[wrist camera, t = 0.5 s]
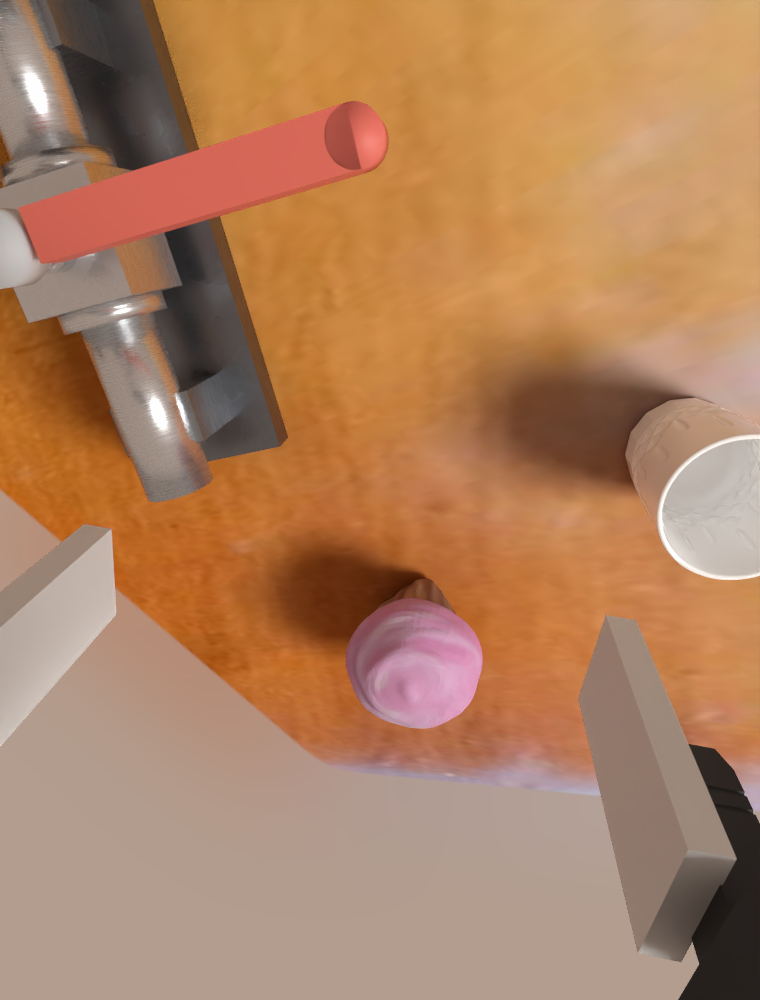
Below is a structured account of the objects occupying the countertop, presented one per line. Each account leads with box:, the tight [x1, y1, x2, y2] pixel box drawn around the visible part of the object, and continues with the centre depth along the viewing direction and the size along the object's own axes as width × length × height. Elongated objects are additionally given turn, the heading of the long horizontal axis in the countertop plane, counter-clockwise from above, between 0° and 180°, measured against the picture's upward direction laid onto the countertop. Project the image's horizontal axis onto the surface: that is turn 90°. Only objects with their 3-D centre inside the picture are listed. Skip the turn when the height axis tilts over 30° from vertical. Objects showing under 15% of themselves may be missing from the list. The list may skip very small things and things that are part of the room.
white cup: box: [625, 398, 760, 580], centre depth 36 cm, size 8×8×10 cm
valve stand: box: [0, 0, 288, 502], centre depth 34 cm, size 28×10×12 cm, turn 14°
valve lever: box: [0, 101, 388, 289], centre depth 26 cm, size 19×3×2 cm, turn 104°
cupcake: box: [346, 579, 482, 728], centre depth 43 cm, size 9×9×10 cm
